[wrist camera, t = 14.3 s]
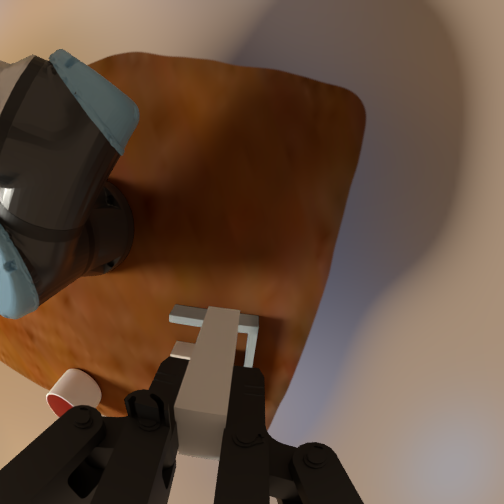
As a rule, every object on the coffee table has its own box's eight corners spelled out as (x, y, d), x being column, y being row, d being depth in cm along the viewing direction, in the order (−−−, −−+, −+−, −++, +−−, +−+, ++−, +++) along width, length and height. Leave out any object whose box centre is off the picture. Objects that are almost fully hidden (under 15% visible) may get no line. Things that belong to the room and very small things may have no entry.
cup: (76, 359, 47) (53, 387, 37) (110, 391, 49) (92, 422, 39) (61, 375, 49) (40, 400, 39) (92, 404, 50) (75, 432, 41)
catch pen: (177, 386, 47) (172, 399, 43) (175, 304, 42) (169, 314, 39) (245, 397, 47) (244, 410, 44) (258, 315, 42) (258, 327, 39)
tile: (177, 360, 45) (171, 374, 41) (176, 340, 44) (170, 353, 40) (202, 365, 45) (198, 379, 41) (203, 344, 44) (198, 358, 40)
